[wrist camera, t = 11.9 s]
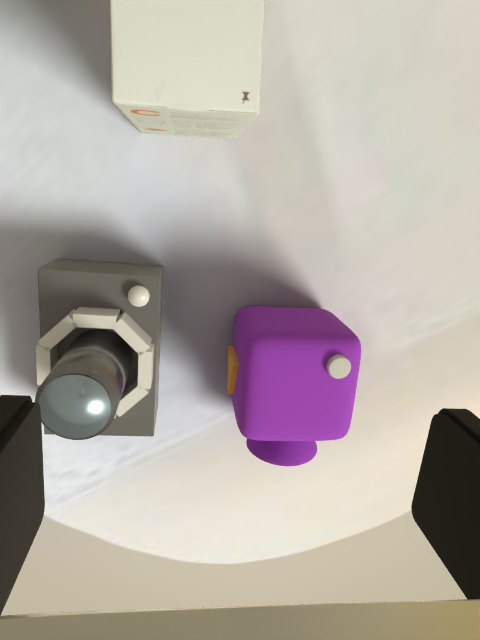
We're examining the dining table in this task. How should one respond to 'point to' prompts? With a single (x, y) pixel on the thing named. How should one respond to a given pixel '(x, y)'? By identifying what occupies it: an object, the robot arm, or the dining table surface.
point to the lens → (85, 385)
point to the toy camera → (291, 380)
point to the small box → (187, 65)
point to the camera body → (106, 327)
